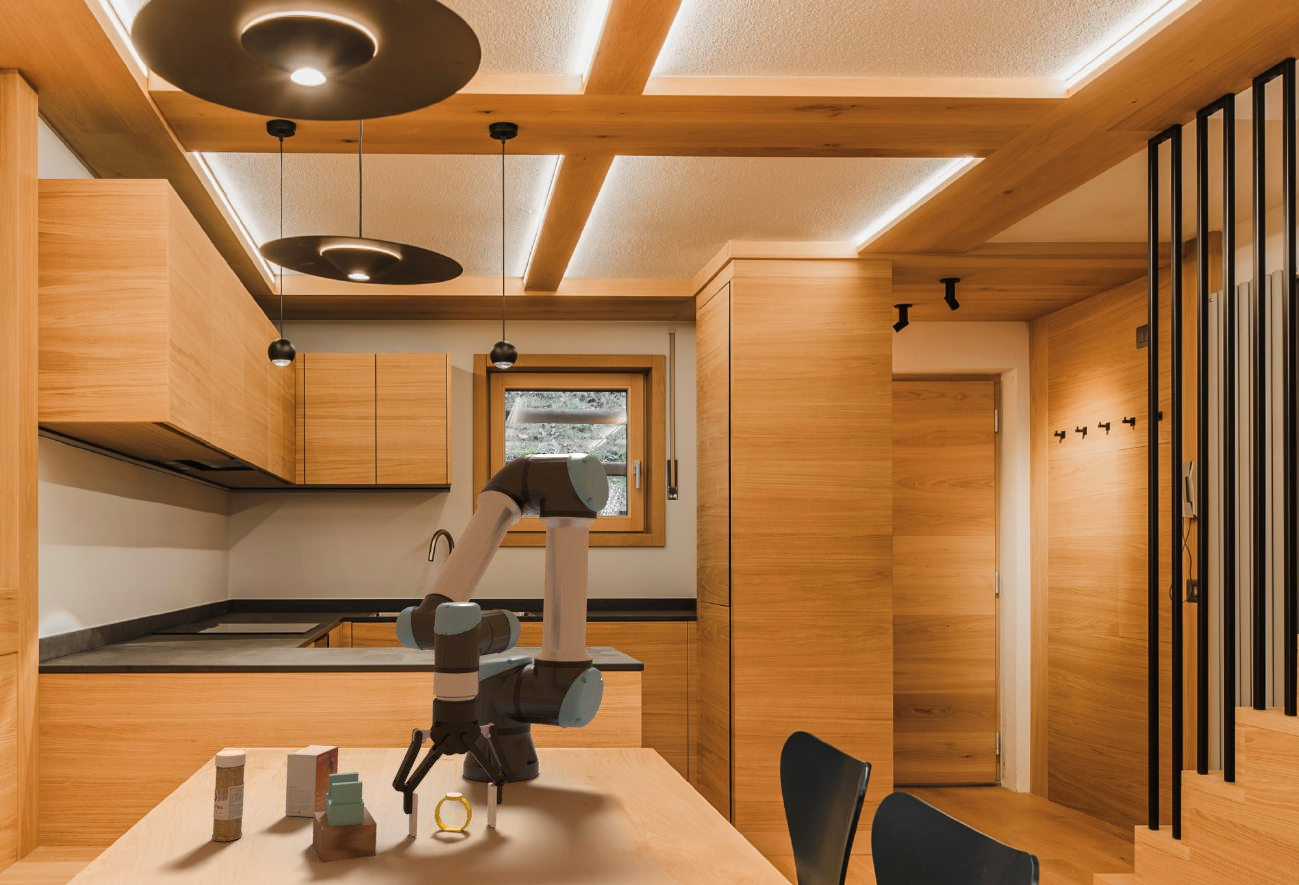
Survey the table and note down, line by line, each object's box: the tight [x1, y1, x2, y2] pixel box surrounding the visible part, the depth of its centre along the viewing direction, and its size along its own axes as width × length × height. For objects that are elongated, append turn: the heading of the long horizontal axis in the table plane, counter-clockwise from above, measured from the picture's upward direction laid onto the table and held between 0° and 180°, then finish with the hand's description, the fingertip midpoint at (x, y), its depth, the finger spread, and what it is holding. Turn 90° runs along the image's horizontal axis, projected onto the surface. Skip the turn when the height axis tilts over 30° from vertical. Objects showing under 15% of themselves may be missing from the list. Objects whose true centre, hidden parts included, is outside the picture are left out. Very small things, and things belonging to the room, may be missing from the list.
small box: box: [285, 744, 339, 818], centre depth 179 cm, size 8×6×10 cm
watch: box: [434, 791, 473, 833], centre depth 168 cm, size 6×3×6 cm, turn 80°
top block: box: [326, 772, 365, 827], centre depth 158 cm, size 5×8×6 cm, turn 22°
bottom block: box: [312, 806, 378, 863], centre depth 158 cm, size 8×10×5 cm
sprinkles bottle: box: [211, 749, 247, 842], centre depth 163 cm, size 5×5×14 cm
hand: (452, 829), depth 167 cm, fingers open, 12 cm apart
